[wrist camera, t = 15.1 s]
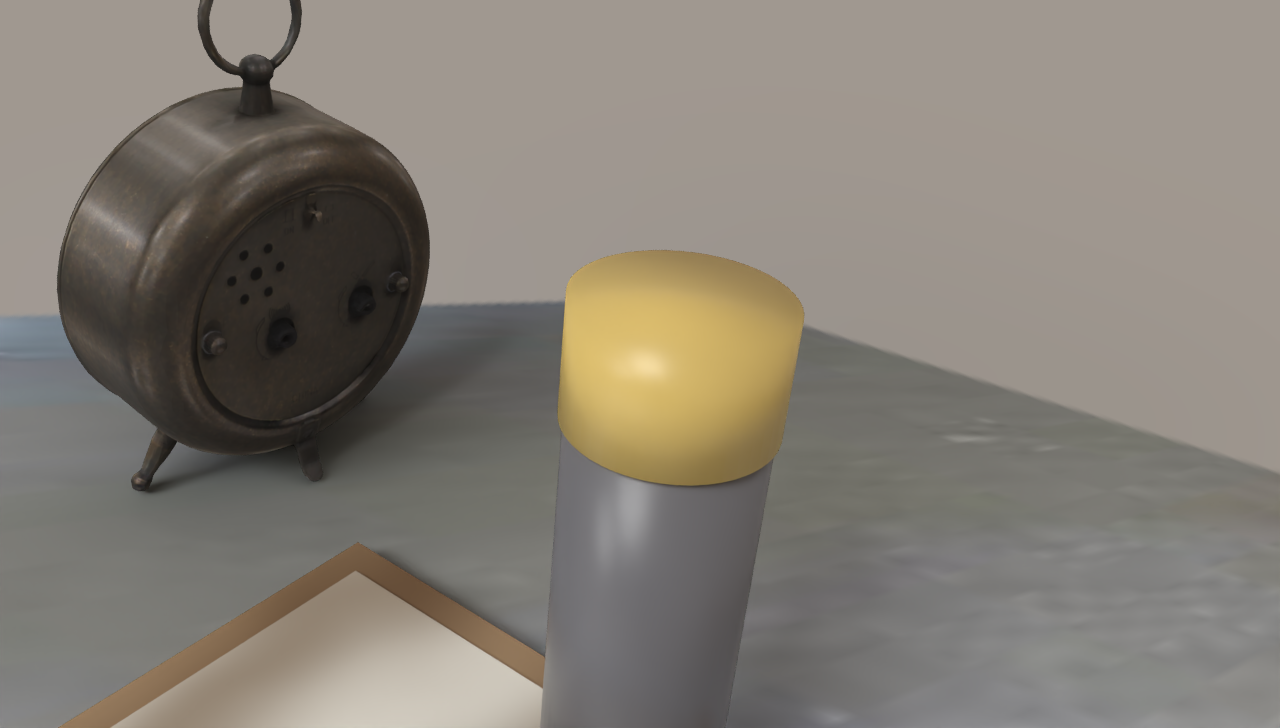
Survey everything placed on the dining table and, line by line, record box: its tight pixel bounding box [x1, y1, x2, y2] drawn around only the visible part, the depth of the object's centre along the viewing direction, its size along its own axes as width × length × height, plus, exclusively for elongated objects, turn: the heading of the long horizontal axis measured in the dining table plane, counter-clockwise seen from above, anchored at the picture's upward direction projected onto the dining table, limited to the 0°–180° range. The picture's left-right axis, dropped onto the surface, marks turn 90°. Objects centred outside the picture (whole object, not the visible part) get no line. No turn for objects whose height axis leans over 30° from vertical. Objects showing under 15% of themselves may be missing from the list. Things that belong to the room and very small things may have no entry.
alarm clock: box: [57, 0, 430, 491], centre depth 36 cm, size 11×5×16 cm, turn 140°
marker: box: [540, 250, 804, 728], centre depth 24 cm, size 4×4×14 cm
